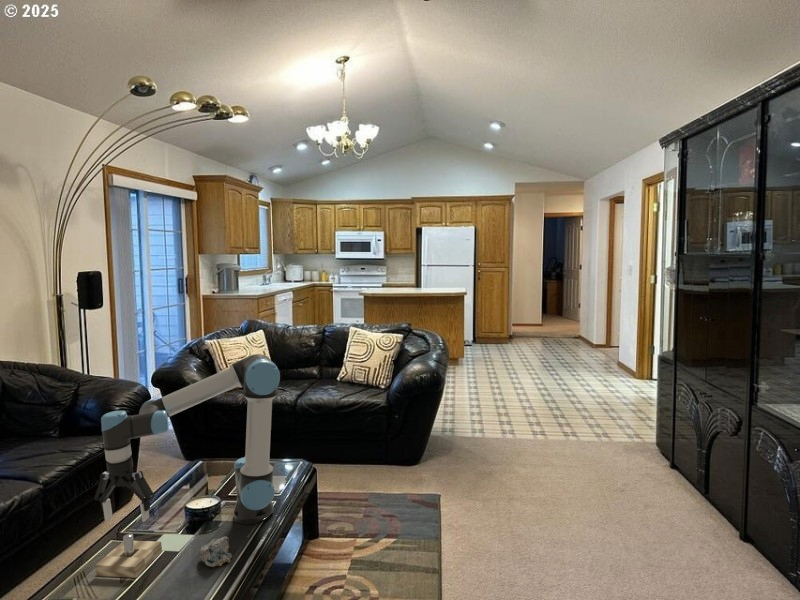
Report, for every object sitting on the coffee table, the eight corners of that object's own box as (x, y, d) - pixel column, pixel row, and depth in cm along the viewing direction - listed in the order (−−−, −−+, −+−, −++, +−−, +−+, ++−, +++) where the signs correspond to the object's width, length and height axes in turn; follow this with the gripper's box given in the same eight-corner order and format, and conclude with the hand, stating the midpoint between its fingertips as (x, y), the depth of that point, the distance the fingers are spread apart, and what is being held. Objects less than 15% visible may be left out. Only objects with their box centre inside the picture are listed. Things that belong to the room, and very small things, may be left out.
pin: (137, 561, 172) (134, 533, 171) (132, 567, 169) (129, 538, 168) (129, 561, 172) (126, 533, 171) (123, 566, 169) (120, 538, 168)
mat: (194, 536, 186) (194, 535, 186) (178, 552, 176) (178, 551, 176) (164, 534, 188) (164, 533, 188) (147, 551, 178) (147, 549, 178)
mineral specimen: (215, 580, 168) (227, 555, 177) (228, 569, 165) (240, 543, 174) (191, 564, 166) (205, 539, 175) (204, 552, 163) (217, 528, 172)
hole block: (162, 552, 177) (161, 541, 176) (136, 578, 163) (134, 566, 162) (125, 550, 179) (124, 540, 178) (96, 576, 165) (95, 565, 164)
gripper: (161, 453, 169) (168, 513, 171) (93, 453, 172) (101, 512, 175) (146, 463, 161) (154, 526, 164) (76, 463, 165) (85, 525, 167)
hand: (127, 519), depth 169 cm, fingers open, 13 cm apart
